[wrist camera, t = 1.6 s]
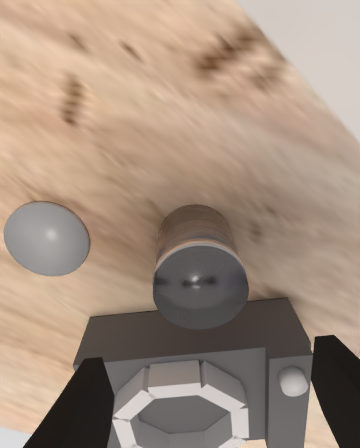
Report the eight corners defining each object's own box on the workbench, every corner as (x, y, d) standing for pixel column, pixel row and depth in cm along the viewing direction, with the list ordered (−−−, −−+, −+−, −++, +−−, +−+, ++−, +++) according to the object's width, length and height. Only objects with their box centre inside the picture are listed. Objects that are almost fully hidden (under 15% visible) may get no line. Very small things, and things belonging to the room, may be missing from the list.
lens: (228, 199, 18) (248, 246, 13) (231, 263, 20) (250, 325, 15) (153, 208, 18) (144, 257, 13) (163, 270, 20) (159, 334, 15)
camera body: (287, 297, 21) (323, 367, 16) (283, 384, 25) (311, 462, 20) (90, 317, 21) (63, 390, 16) (116, 398, 25) (101, 478, 20)
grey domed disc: (79, 194, 18) (75, 199, 17) (98, 265, 20) (96, 272, 19) (-3, 204, 18) (-10, 209, 17) (26, 272, 20) (20, 280, 20)
